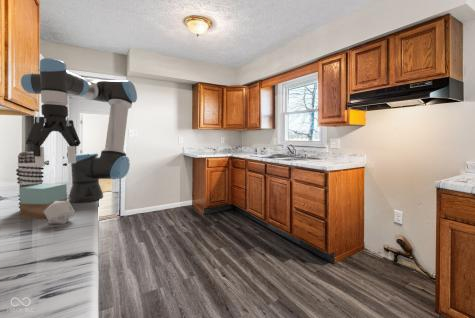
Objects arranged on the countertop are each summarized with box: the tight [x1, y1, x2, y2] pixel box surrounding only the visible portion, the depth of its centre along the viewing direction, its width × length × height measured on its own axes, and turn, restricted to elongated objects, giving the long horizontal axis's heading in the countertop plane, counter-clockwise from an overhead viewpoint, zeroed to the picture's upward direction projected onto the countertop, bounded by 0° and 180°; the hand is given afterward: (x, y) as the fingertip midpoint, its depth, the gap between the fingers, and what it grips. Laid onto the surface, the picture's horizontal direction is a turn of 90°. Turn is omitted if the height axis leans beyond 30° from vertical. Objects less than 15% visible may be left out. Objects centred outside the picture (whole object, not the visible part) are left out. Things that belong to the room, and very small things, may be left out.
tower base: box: [19, 197, 68, 220], centre depth 99 cm, size 10×10×6 cm
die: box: [43, 200, 76, 225], centre depth 90 cm, size 8×9×10 cm
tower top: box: [18, 182, 68, 204], centre depth 99 cm, size 10×10×6 cm
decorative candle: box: [15, 151, 45, 212], centre depth 106 cm, size 9×9×25 cm
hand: (57, 164), depth 89 cm, fingers open, 13 cm apart
